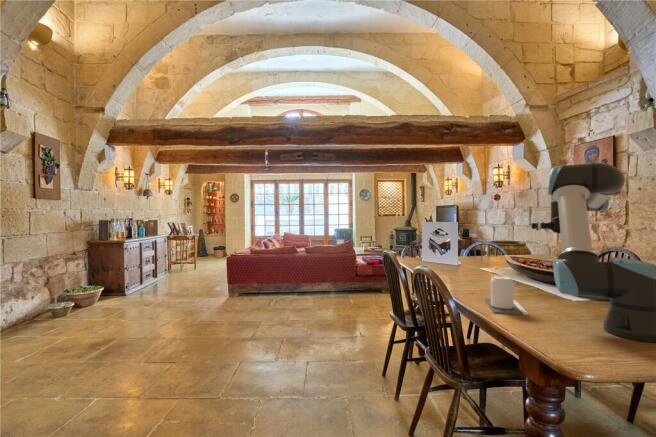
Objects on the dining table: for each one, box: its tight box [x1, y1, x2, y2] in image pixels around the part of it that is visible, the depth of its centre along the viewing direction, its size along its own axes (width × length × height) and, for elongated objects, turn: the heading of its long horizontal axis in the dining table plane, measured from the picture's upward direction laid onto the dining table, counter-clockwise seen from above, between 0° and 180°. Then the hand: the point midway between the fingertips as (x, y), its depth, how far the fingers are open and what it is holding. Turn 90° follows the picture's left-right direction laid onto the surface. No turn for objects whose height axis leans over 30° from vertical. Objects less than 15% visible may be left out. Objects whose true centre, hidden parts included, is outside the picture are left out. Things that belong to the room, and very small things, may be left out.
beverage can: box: [490, 275, 515, 309], centre depth 133 cm, size 8×8×12 cm
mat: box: [484, 298, 529, 316], centre depth 136 cm, size 20×12×1 cm, turn 164°
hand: (557, 227), depth 140 cm, fingers open, 13 cm apart
